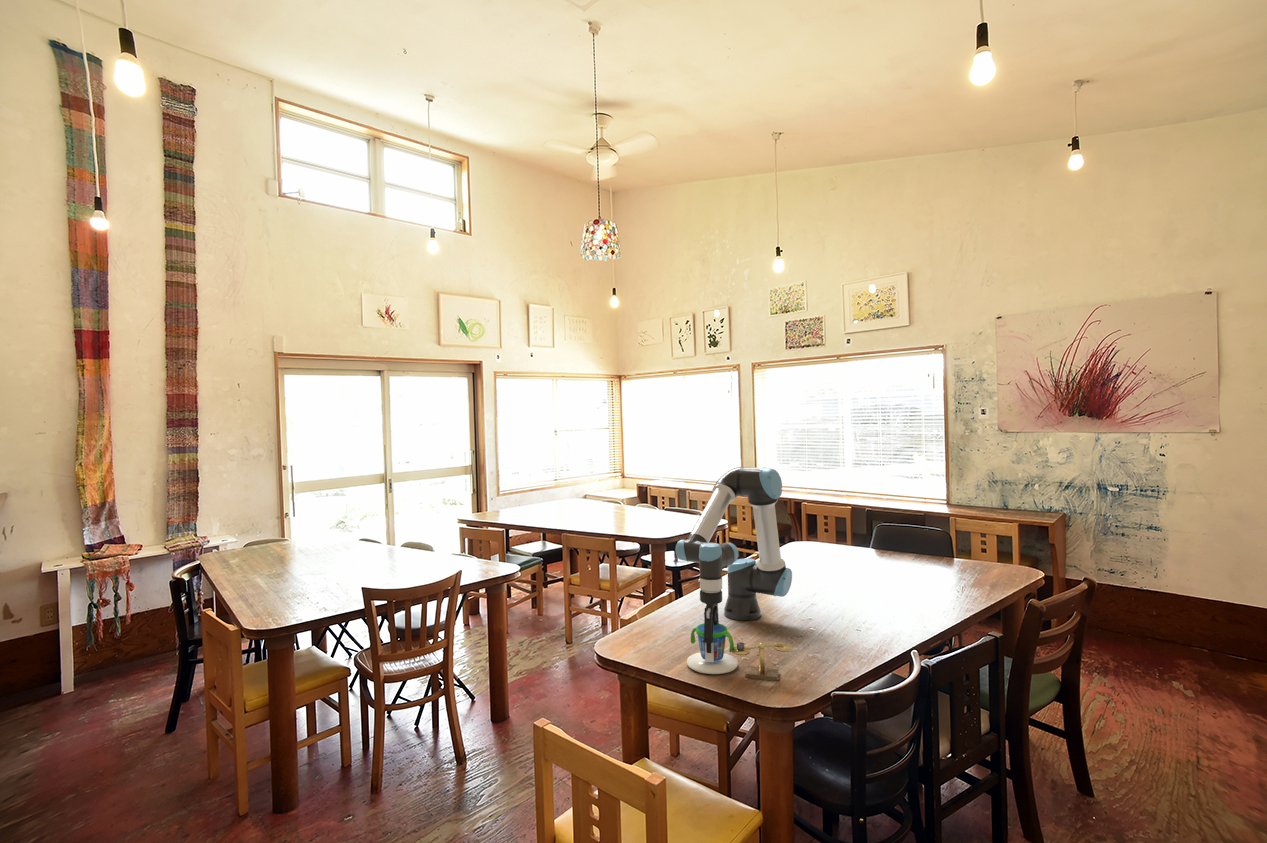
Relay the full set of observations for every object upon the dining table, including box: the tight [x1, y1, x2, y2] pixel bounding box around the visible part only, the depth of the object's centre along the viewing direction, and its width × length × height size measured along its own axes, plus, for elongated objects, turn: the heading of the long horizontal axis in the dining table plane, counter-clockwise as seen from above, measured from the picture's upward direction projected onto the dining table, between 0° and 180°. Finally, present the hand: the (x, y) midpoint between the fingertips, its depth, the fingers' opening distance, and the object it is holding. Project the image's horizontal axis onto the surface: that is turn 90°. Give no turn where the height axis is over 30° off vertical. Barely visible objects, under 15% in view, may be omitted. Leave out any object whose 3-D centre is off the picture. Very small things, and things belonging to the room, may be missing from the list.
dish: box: [686, 652, 739, 675], centre depth 204 cm, size 17×17×1 cm
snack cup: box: [690, 623, 735, 661], centre depth 204 cm, size 16×10×10 cm
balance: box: [731, 641, 794, 682], centre depth 196 cm, size 6×20×11 cm, turn 73°
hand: (712, 655), depth 204 cm, fingers closed on snack cup, 9 cm apart
